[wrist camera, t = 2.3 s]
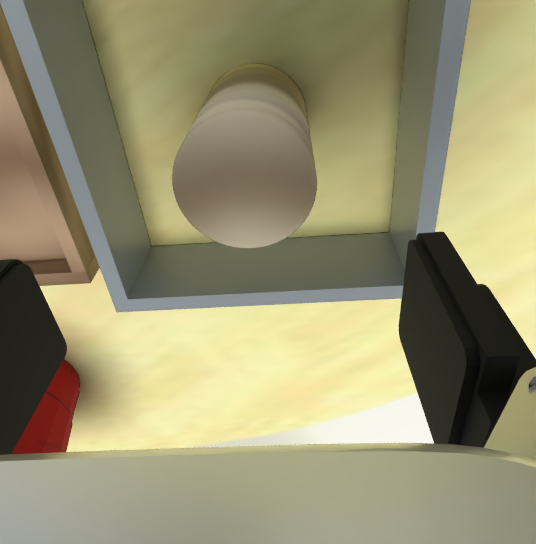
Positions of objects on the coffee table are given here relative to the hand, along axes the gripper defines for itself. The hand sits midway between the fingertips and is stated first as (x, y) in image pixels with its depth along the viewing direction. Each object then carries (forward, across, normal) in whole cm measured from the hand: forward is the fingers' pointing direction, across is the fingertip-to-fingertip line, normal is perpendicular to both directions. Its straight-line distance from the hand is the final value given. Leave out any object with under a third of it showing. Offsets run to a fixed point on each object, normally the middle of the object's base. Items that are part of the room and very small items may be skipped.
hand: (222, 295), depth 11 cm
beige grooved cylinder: (+14, 0, -1) cm, 14 cm away
